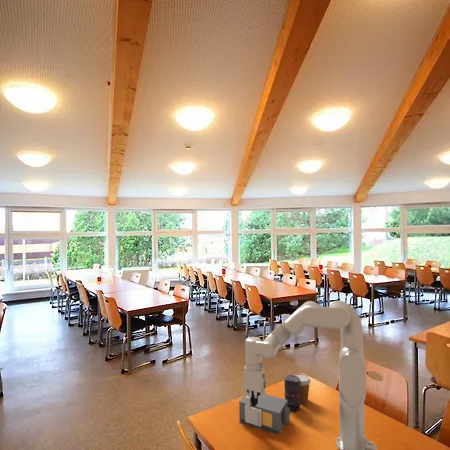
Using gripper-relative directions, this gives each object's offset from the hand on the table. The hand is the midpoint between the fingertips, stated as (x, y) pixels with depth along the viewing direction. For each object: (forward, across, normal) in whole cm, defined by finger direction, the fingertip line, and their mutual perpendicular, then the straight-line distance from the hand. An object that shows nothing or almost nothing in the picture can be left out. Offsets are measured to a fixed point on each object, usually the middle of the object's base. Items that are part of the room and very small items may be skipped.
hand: (254, 404), depth 141 cm
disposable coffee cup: (+10, -13, -32) cm, 36 cm away
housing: (+10, -2, -7) cm, 12 cm away
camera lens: (+10, -11, -23) cm, 28 cm away
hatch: (+9, +1, 0) cm, 9 cm away
